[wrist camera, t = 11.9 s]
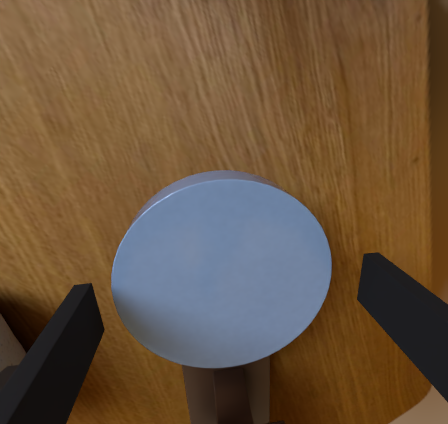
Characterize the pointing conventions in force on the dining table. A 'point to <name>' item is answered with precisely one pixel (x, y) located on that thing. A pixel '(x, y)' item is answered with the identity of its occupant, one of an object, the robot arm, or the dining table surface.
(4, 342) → the ceramic mug
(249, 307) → the side plate
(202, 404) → the plate rack
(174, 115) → the dining table surface
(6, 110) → the dining table surface
